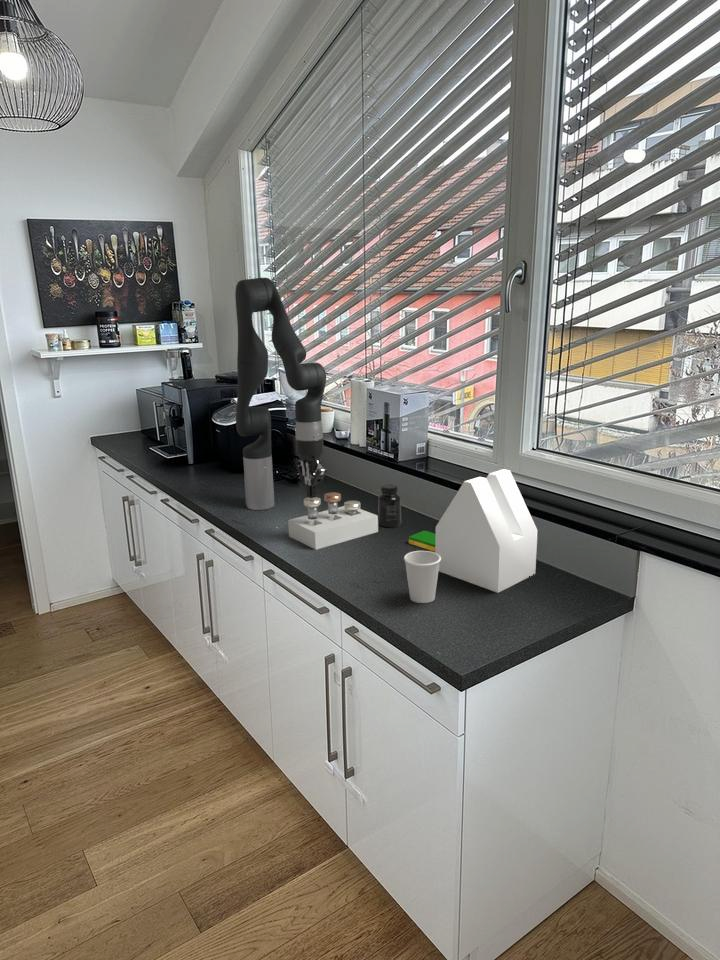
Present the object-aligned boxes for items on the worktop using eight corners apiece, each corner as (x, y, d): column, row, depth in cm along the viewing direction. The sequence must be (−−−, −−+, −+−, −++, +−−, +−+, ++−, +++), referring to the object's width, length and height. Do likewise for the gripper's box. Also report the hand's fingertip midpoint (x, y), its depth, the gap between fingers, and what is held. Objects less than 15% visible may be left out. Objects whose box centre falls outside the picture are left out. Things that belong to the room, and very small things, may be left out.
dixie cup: (419, 586, 160) (419, 547, 158) (447, 597, 155) (448, 556, 152) (396, 598, 155) (396, 557, 152) (425, 609, 149) (425, 567, 146)
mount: (289, 536, 196) (288, 519, 195) (349, 520, 209) (349, 504, 207) (315, 549, 185) (315, 532, 184) (378, 531, 198) (377, 515, 197)
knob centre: (321, 512, 196) (320, 494, 194) (335, 509, 198) (334, 491, 197) (331, 516, 192) (330, 498, 190) (344, 513, 195) (344, 494, 193)
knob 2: (341, 520, 201) (340, 502, 199) (354, 516, 204) (353, 499, 202) (351, 524, 197) (350, 506, 196) (364, 520, 200) (363, 503, 198)
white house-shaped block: (435, 570, 170) (436, 474, 163) (473, 553, 180) (475, 463, 173) (497, 593, 157) (501, 490, 150) (535, 574, 167) (540, 476, 160)
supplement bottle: (404, 522, 206) (404, 484, 203) (396, 529, 200) (395, 490, 197) (383, 519, 209) (383, 482, 205) (374, 526, 203) (374, 488, 199)
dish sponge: (447, 557, 179) (447, 548, 179) (407, 544, 189) (407, 536, 188) (463, 550, 184) (463, 541, 183) (424, 538, 193) (424, 530, 193)
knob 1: (301, 517, 192) (300, 499, 190) (315, 514, 194) (314, 496, 193) (310, 521, 188) (309, 503, 186) (324, 518, 191) (324, 499, 189)
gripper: (285, 435, 188) (288, 494, 192) (311, 442, 178) (313, 505, 182) (307, 431, 192) (310, 489, 197) (334, 438, 182) (336, 499, 186)
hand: (311, 497), depth 189 cm, fingers closed
